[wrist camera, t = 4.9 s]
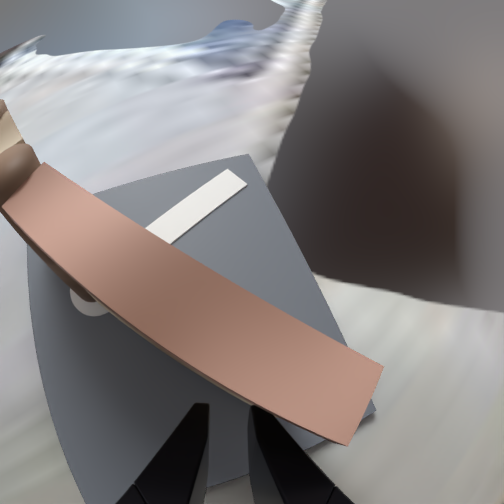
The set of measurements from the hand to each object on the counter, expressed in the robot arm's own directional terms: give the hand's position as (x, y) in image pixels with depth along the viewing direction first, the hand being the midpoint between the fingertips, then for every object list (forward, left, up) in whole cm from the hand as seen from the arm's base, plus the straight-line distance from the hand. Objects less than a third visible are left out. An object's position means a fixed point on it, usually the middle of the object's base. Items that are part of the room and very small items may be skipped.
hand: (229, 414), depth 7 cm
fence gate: (+4, +1, -6) cm, 7 cm away
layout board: (+5, +1, -7) cm, 9 cm away
